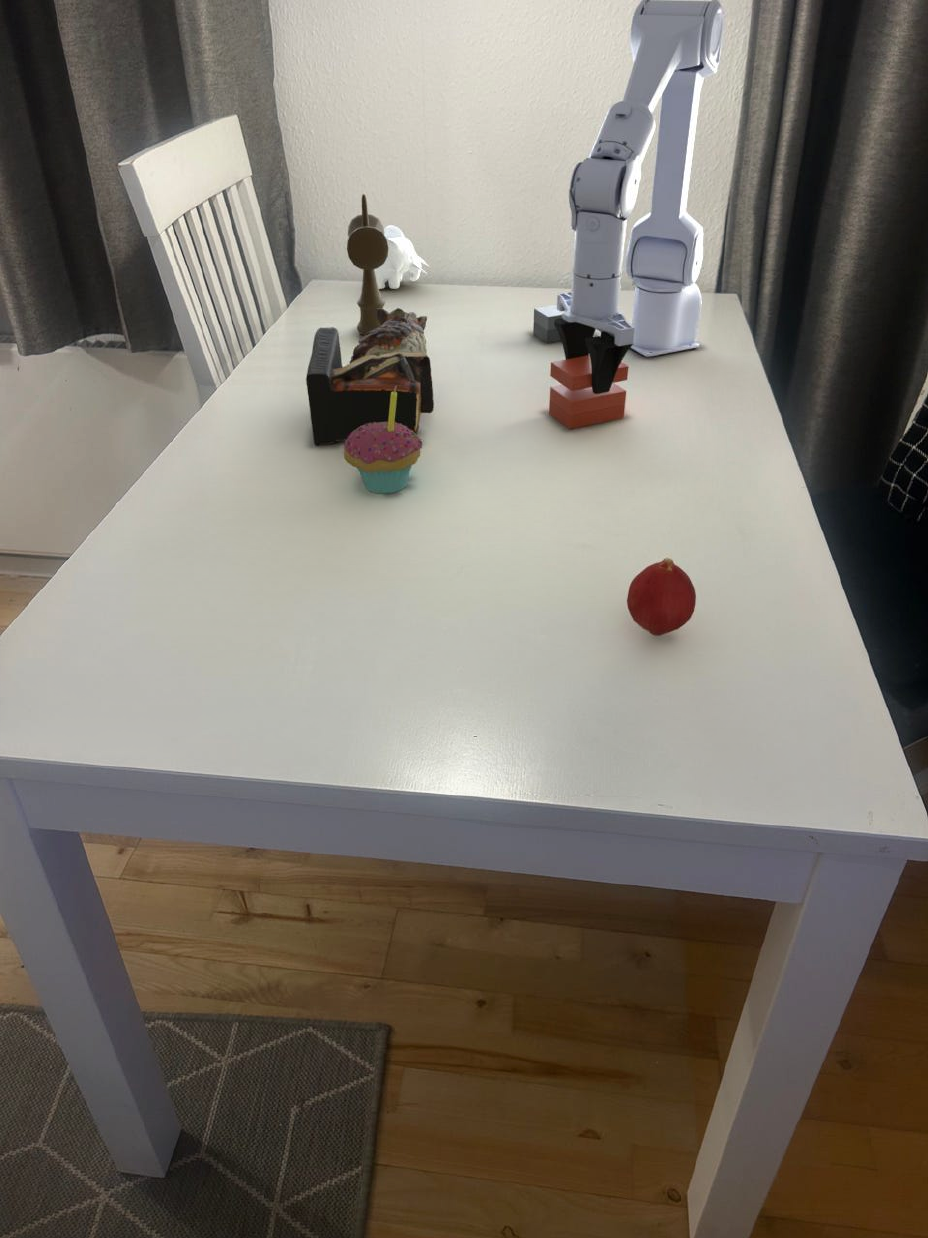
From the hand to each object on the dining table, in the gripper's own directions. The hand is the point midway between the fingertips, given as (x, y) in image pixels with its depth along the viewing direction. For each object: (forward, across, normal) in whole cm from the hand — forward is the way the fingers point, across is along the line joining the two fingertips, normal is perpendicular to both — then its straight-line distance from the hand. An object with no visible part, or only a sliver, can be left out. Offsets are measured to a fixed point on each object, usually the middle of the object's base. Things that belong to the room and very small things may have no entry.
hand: (588, 383), depth 115 cm
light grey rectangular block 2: (+2, -27, +12) cm, 30 cm away
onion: (+5, +42, -18) cm, 46 cm away
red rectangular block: (+4, 0, 0) cm, 4 cm away
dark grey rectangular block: (+4, -27, +12) cm, 30 cm away
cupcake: (+4, +6, -30) cm, 31 cm away
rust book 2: (+3, 0, 0) cm, 3 cm away
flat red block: (-1, 0, 0) cm, 1 cm away
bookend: (+5, -15, -23) cm, 28 cm away
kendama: (+5, -41, -14) cm, 44 cm away
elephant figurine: (+4, -62, -2) cm, 62 cm away
